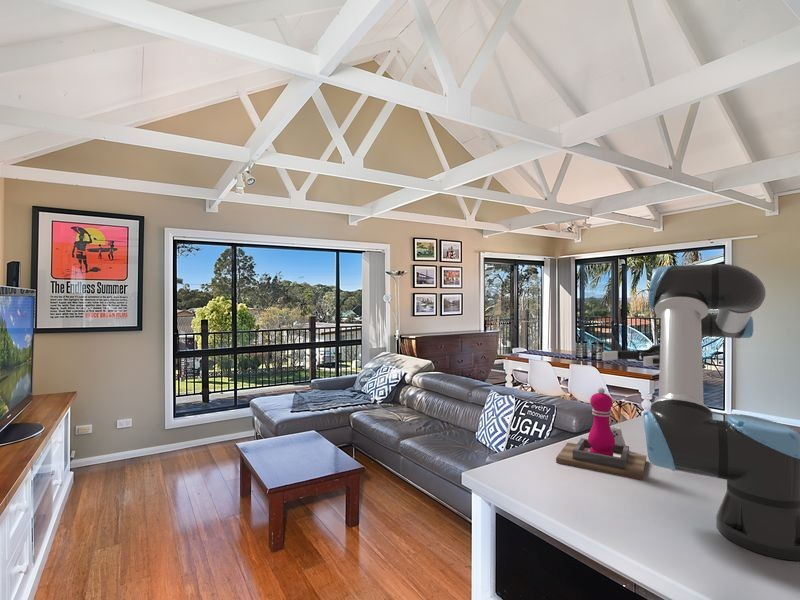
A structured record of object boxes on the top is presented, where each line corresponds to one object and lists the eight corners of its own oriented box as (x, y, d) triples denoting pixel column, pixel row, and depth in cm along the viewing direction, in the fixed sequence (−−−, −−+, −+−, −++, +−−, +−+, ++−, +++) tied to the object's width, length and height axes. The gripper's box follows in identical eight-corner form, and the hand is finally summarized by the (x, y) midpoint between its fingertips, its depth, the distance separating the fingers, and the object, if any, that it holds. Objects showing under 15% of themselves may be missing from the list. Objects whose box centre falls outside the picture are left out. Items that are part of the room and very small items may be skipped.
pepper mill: (599, 461, 121) (599, 391, 121) (582, 452, 127) (582, 386, 128) (620, 459, 122) (620, 389, 123) (602, 450, 129) (602, 385, 130)
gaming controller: (590, 443, 141) (590, 422, 142) (597, 441, 144) (597, 420, 144) (620, 452, 133) (620, 430, 133) (627, 450, 135) (627, 428, 135)
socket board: (642, 479, 112) (642, 464, 112) (556, 462, 124) (556, 448, 124) (646, 461, 126) (645, 447, 126) (567, 447, 138) (567, 434, 138)
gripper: (706, 372, 128) (664, 377, 118) (629, 362, 150) (588, 365, 141) (706, 347, 128) (664, 350, 119) (629, 341, 150) (588, 343, 141)
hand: (622, 358), depth 130 cm, fingers open, 13 cm apart
